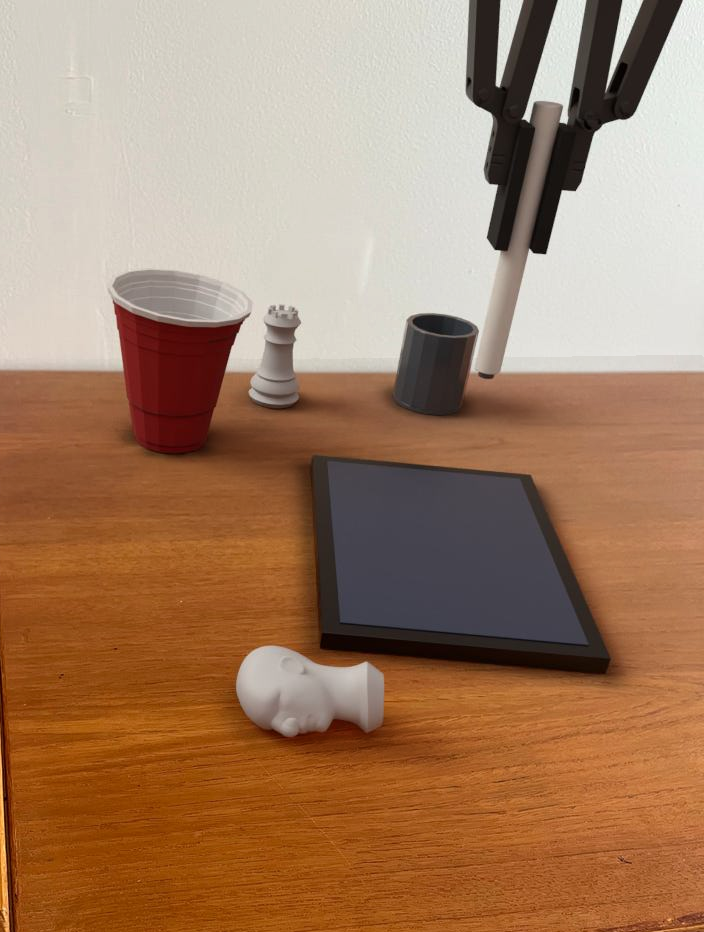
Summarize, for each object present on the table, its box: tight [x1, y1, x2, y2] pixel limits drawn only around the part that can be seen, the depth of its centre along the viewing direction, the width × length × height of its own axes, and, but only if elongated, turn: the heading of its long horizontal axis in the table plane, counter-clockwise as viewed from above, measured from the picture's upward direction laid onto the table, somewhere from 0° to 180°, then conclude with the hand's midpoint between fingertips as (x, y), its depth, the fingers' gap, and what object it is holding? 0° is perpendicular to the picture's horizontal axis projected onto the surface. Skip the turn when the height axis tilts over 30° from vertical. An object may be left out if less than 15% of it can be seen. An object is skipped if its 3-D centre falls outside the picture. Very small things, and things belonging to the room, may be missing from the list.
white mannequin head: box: [235, 645, 385, 738], centre depth 54 cm, size 4×8×5 cm
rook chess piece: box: [248, 303, 302, 409], centre depth 89 cm, size 4×4×8 cm
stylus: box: [474, 100, 564, 380], centre depth 61 cm, size 2×2×16 cm
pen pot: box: [392, 312, 480, 416], centre depth 91 cm, size 6×6×7 cm
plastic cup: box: [106, 268, 253, 454], centre depth 79 cm, size 11×11×12 cm
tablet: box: [309, 454, 612, 675], centre depth 70 cm, size 17×24×1 cm
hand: (515, 245), depth 61 cm, fingers closed on stylus, 1 cm apart
